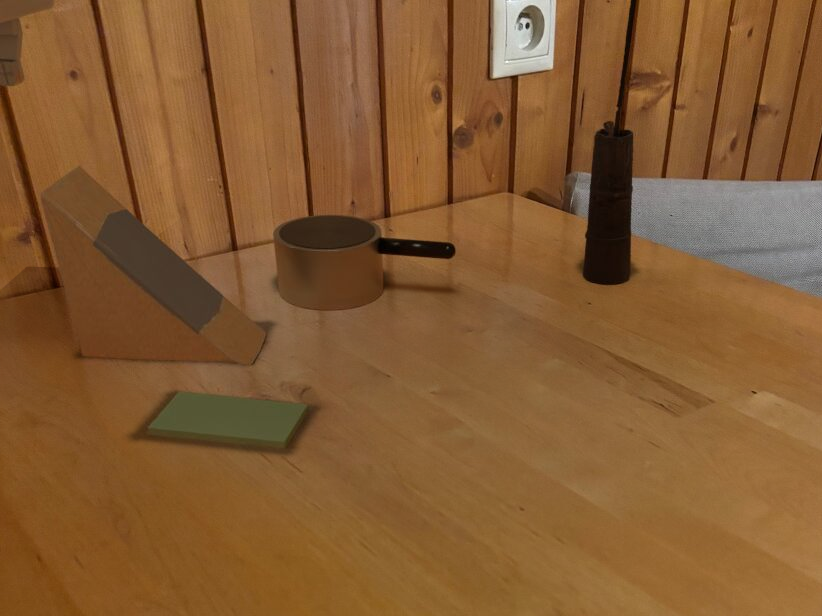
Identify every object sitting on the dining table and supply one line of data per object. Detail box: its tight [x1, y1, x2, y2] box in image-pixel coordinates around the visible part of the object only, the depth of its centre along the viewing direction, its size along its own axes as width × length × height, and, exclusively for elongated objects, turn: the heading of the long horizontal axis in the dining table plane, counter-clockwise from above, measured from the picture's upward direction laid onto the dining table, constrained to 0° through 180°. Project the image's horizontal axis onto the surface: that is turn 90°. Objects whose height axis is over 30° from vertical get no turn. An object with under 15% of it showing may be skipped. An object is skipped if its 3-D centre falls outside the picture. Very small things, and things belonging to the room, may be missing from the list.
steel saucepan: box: [272, 214, 457, 311], centre depth 97 cm, size 19×11×6 cm, turn 80°
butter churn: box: [582, 0, 637, 285], centre depth 95 cm, size 9×10×28 cm
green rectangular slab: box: [147, 391, 309, 449], centre depth 75 cm, size 12×7×2 cm, turn 80°
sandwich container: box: [40, 165, 268, 366], centre depth 83 cm, size 9×15×15 cm, turn 86°
